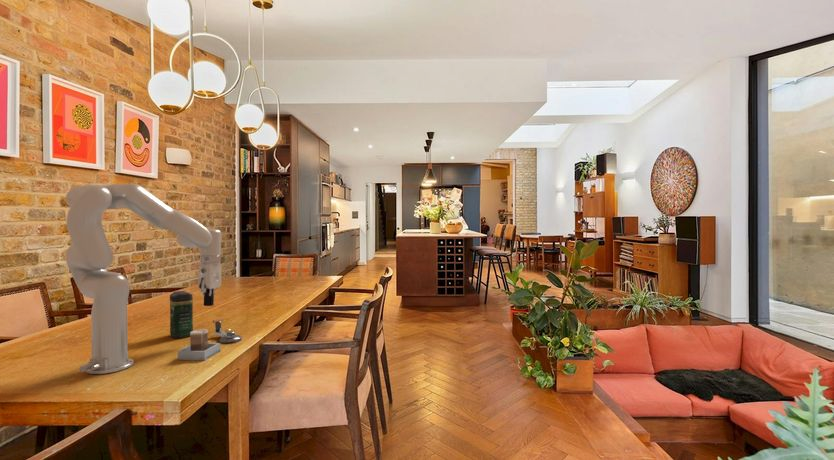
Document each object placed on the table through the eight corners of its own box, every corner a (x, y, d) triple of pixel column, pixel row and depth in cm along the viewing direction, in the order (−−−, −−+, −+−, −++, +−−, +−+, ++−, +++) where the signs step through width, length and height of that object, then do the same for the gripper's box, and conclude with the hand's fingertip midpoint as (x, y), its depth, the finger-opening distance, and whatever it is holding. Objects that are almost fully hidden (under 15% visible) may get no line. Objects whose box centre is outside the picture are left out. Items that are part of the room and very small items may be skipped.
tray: (204, 360, 144) (204, 351, 144) (177, 359, 144) (177, 351, 144) (220, 351, 153) (220, 343, 153) (194, 350, 154) (194, 342, 154)
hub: (235, 343, 162) (235, 340, 162) (215, 343, 163) (215, 340, 163) (245, 337, 170) (245, 334, 170) (226, 337, 171) (226, 334, 171)
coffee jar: (195, 336, 173) (195, 291, 172) (174, 339, 167) (173, 294, 166) (188, 331, 180) (188, 288, 179) (168, 334, 174) (167, 291, 173)
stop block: (201, 355, 147) (201, 332, 146) (190, 354, 147) (190, 332, 147) (208, 351, 151) (207, 329, 150) (197, 351, 151) (197, 329, 151)
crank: (237, 336, 167) (237, 322, 167) (228, 338, 164) (228, 324, 164) (221, 331, 174) (221, 318, 174) (212, 334, 171) (212, 320, 170)
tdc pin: (228, 336, 171) (228, 330, 171) (224, 336, 171) (224, 330, 171) (231, 335, 173) (231, 328, 173) (226, 335, 173) (226, 328, 173)
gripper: (209, 261, 159) (208, 309, 158) (228, 259, 174) (226, 302, 173) (190, 260, 159) (188, 308, 159) (210, 258, 174) (208, 302, 173)
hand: (208, 305), depth 166 cm, fingers closed
